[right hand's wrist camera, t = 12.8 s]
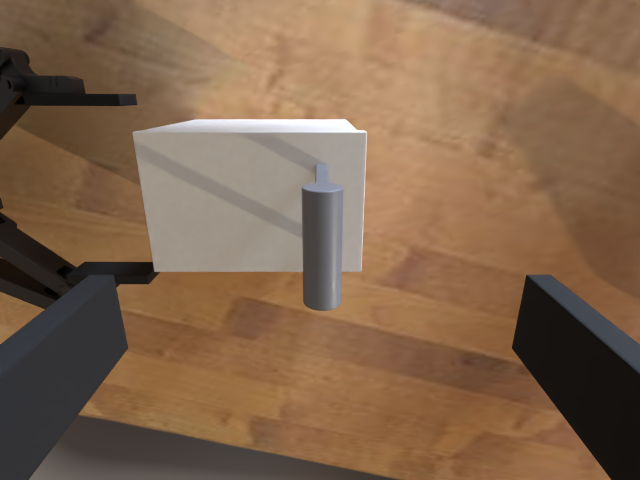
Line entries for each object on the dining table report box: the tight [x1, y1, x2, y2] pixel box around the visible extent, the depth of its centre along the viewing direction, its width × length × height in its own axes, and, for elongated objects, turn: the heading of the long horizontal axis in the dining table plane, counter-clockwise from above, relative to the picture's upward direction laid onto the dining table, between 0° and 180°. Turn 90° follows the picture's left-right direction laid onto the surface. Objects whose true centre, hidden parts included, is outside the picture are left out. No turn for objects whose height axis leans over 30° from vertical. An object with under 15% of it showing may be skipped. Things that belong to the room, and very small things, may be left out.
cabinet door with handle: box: [132, 130, 367, 311], centre depth 22 cm, size 14×9×9 cm, turn 90°
